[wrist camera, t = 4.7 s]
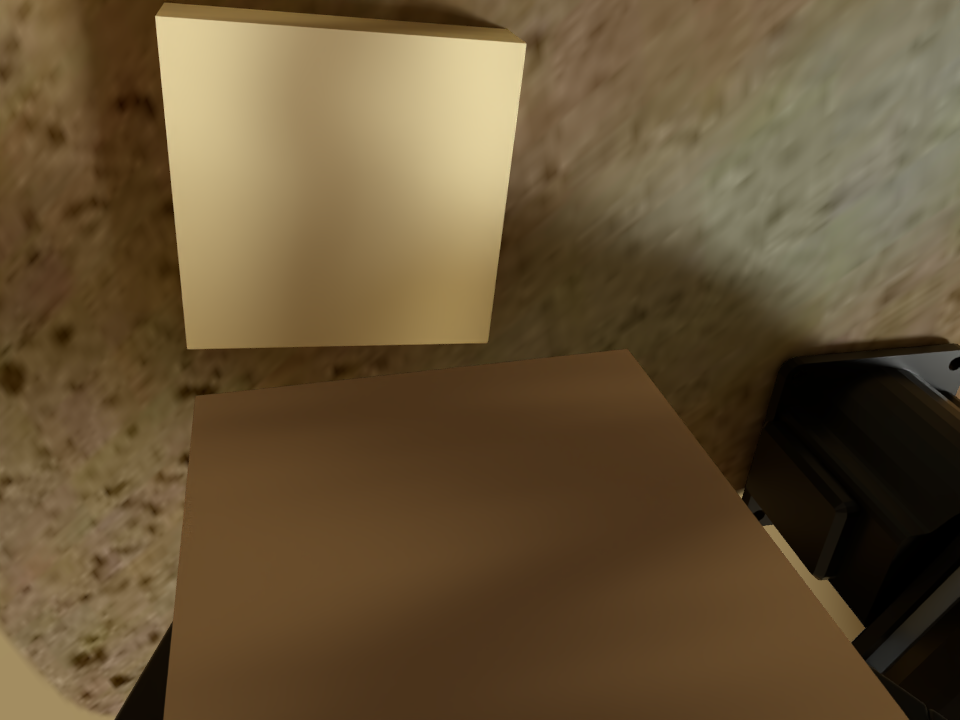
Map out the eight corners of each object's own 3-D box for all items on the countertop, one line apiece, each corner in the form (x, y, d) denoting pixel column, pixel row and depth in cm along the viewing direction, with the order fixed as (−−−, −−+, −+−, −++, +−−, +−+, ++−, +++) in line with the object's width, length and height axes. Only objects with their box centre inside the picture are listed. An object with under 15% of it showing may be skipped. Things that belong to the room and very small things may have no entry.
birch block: (502, 25, 18) (526, 43, 16) (470, 304, 21) (487, 342, 20) (166, -1, 16) (155, 16, 14) (194, 307, 20) (187, 349, 18)
